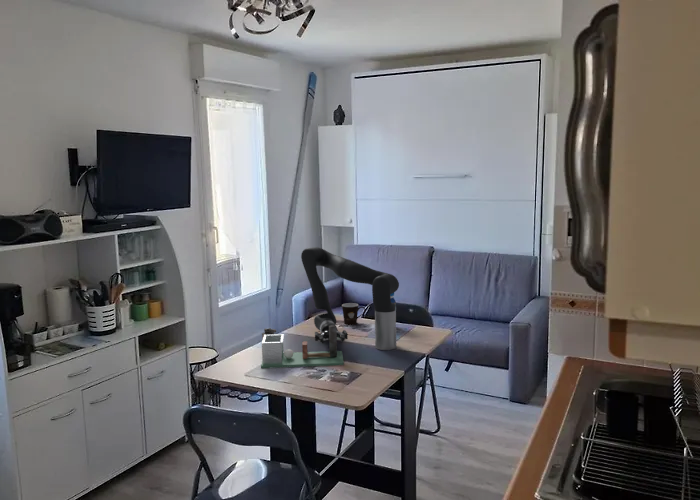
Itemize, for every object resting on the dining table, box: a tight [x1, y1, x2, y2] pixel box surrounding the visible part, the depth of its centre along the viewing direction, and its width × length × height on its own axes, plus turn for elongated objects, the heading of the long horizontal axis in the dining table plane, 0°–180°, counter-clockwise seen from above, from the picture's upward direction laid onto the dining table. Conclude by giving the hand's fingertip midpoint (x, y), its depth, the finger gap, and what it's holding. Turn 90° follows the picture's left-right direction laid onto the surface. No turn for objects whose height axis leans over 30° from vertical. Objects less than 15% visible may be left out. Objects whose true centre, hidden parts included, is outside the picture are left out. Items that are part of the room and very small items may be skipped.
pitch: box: [260, 350, 345, 369], centre depth 247 cm, size 34×16×1 cm, turn 93°
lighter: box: [261, 327, 277, 339], centre depth 261 cm, size 8×3×10 cm, turn 62°
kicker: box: [301, 325, 338, 359], centre depth 246 cm, size 15×5×13 cm, turn 93°
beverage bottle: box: [390, 292, 397, 326], centre depth 293 cm, size 8×8×20 cm
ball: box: [284, 348, 294, 359], centre depth 246 cm, size 4×4×4 cm
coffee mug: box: [341, 302, 366, 326], centre depth 303 cm, size 12×9×10 cm
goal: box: [261, 333, 285, 364], centre depth 245 cm, size 8×12×9 cm
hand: (332, 340), depth 247 cm, fingers open, 8 cm apart
